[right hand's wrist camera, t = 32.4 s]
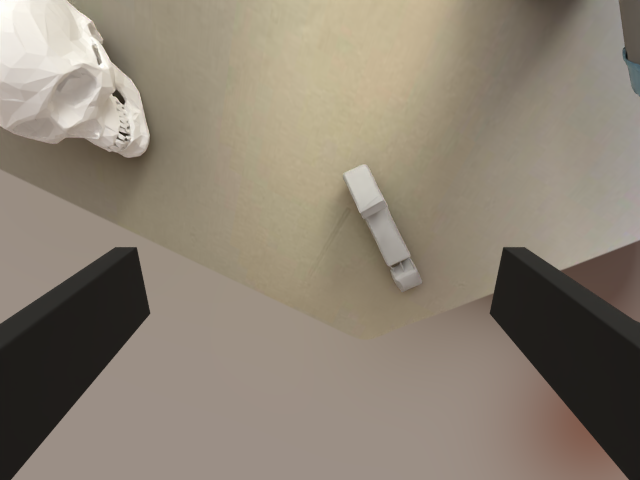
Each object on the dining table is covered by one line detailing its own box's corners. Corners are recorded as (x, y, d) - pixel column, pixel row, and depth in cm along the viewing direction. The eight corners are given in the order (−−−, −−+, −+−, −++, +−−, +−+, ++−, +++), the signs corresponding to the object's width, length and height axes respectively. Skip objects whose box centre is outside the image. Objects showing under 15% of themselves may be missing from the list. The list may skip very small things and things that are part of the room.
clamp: (339, 172, 47) (345, 187, 40) (364, 159, 46) (373, 172, 40) (394, 280, 55) (406, 306, 49) (416, 270, 54) (430, 295, 48)
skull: (121, 180, 47) (35, 209, 32) (-22, 41, 41) (-209, -3, 26) (188, 116, 45) (127, 114, 30) (46, -42, 39) (-119, -143, 24)
